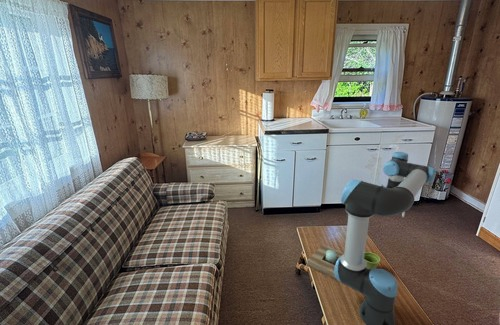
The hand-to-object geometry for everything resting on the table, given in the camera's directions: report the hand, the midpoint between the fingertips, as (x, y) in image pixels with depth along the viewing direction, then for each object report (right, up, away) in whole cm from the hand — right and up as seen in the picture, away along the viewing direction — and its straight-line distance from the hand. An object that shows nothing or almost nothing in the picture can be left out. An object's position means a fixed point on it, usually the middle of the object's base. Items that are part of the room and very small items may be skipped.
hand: (389, 213), depth 154 cm
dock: (-34, -31, +3) cm, 46 cm away
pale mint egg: (-34, -28, +2) cm, 44 cm away
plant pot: (-13, -32, -1) cm, 35 cm away
